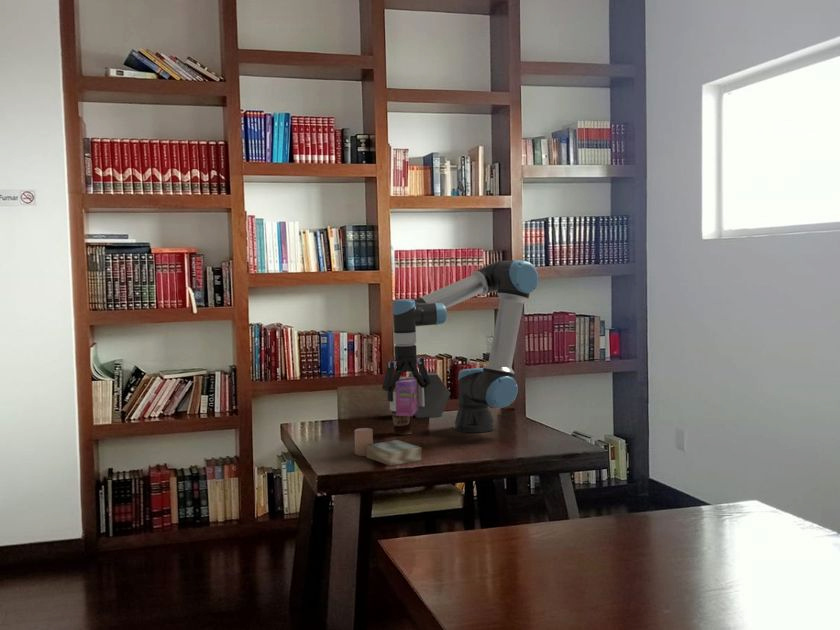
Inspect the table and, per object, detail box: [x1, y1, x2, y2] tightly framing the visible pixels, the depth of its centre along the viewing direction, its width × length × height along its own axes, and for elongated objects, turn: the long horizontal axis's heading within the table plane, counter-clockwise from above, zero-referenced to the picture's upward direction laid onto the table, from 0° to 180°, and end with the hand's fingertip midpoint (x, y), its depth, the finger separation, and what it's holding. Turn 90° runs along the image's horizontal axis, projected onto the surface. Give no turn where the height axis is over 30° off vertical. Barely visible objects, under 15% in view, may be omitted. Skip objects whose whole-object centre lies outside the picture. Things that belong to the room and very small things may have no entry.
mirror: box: [366, 439, 422, 466], centre depth 268 cm, size 12×14×4 cm
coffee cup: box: [391, 411, 414, 436], centre depth 306 cm, size 9×8×13 cm
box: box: [395, 376, 419, 416], centre depth 282 cm, size 10×6×12 cm, turn 168°
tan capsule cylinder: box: [354, 427, 374, 457], centre depth 275 cm, size 6×6×8 cm
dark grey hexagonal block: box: [407, 371, 451, 419], centre depth 340 cm, size 17×8×21 cm
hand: (407, 408), depth 282 cm, fingers closed on box, 11 cm apart
